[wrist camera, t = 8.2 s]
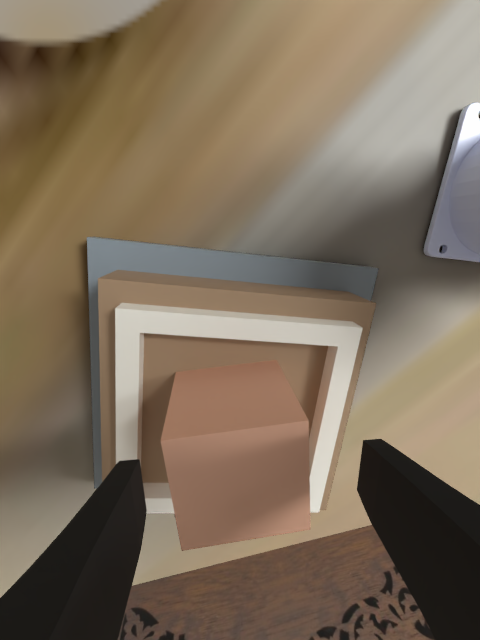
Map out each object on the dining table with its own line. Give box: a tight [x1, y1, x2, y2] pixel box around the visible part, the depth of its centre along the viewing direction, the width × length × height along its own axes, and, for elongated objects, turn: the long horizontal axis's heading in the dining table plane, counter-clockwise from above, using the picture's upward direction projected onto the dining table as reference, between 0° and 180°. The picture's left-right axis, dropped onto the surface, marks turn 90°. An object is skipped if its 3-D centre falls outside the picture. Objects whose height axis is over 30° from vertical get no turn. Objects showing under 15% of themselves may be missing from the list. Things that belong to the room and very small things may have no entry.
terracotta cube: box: [161, 360, 310, 551], centre depth 13 cm, size 5×5×5 cm
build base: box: [87, 237, 378, 514], centre depth 17 cm, size 16×16×5 cm
